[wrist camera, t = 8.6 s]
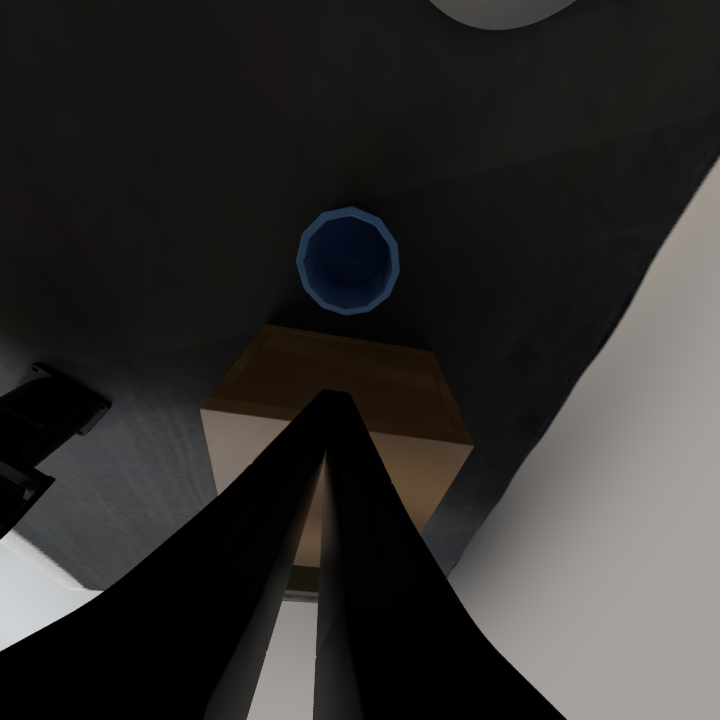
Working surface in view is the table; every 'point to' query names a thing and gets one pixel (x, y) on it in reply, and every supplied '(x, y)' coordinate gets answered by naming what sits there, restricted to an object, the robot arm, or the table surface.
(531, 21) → the cylinder vase
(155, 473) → the table surface
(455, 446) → the cabinet
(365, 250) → the cup
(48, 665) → the robot arm
